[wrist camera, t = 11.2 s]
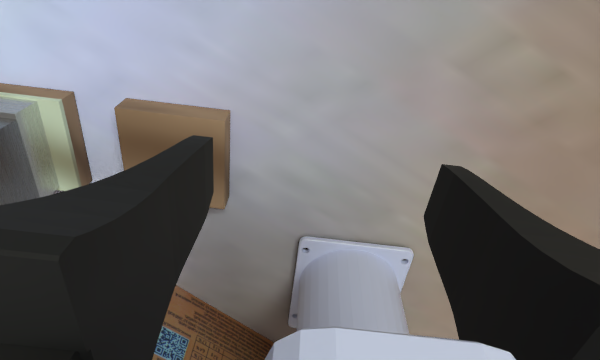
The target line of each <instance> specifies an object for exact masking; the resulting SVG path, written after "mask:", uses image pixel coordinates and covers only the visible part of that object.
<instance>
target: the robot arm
mask: <svg viewBox="0 0 600 360" xmlns="http://www.w3.org/2000/svg"><path fill="white" fill-rule="evenodd" d="M213 193H214V178H213V137H205V136H197V135H193V136H190V137H188V138H186V139H184V140H182V141H181V142H179V143H177V144H175V145H173V146H172V147H170V148H168V149H166V150H164V151H163V152H161V153H159V154H157V155H155V156H154V157H152V158H150V159H148V160H146V161H144V162H141V163H139V164H137V165H135V166H133V167H131V168H129V169H127V170H125V171H123V172H120V173H118V174H115V175H113V176H110V177H108V178H105V179H102V180H100V181H97V182H94V183H91V184H88V185H84V186H81V187H78V188H74V189H71V190H67V191H64V192H60V193H57V194H53V195H49V196H44V197H40V198H35V199H30V200H25V201H20V202H15V203H10V204H4V205H0V360H152V359H153V355H154V352H155V348H156V345H157V342H158V338H159V335H160V332H161V329H162V325H163V322H164V319H165V316H166V313H167V310H168V307H169V304H170V301H171V298H172V295H173V292H174V289H175V286H176V283H177V280H178V278H179V276H180V273H181V271H182V269H183V267H184V264H185V262H186V260H187V258H188V256H189V254H190V252H191V249H192V247H193V245H194V243H195V241H196V239H197V237H198V234H199V232H200V230H201V228H202V226H203V223H204V221H205V219H206V216H207V213H208V210H209V207H210V203H211V200H212V196H213ZM424 221H425V227H426V233H427V237H428V242H429V245H430V248H431V251H432V254H433V257H434V260H435V263H436V266H437V268H438V271H439V274H440V277H441V279H442V282H443V285H444V288H445V290H446V293H447V296H448V299H449V302H450V305H451V308H452V311H453V315H454V319H455V323H456V327H457V332H458V336H459V340H456V339H447V338H437V337H428V336H419V335H410V334H409V331H408V326H407V322H406V317H405V313H404V308H403V304H402V300H401V295H400V293H401V290H402V287H403V284H404V282H405V279H406V276H407V273H408V270H409V268H410V265H411V262H412V259H413V256H414V254H413V251H412V250H411V249H410V248H406V247H397V246H388V245H379V244H370V243H362V242H353V241H344V240H335V239H326V238H317V237H308V236H305V237H302V238H301V239H300V241H299V247H298V254H297V261H296V268H295V275H294V282H293V290H292V297H291V304H290V311H289V318H288V325H289V326H290V327H292V328H297V332H295V333H293V334H290V335H288V336H286V337H284V338H282V339H280V340H278V341H276V342H274V344H273V346H272V348H271V349H270V351H269V353H268V354H267V356H266V358H265V360H600V249H598V248H595V247H593V246H591V245H589V244H587V243H585V242H583V241H581V240H579V239H577V238H575V237H573V236H571V235H569V234H568V233H566V232H564V231H562V230H560V229H558V228H556V227H554V226H553V225H551V224H549V223H548V222H546V221H544V220H542V219H541V218H539V217H538V216H536V215H534V214H533V213H531V212H530V211H528V210H526V209H525V208H523V207H522V206H520V205H519V204H517V203H516V202H514V201H513V200H511V199H510V198H508V197H507V196H505V195H504V194H503V193H501V192H500V191H498V190H497V189H495V188H494V187H493V186H491V185H490V184H488V183H487V182H485V181H484V180H482V179H481V178H480V177H478V176H477V175H475V174H474V173H472V172H470V171H469V170H467V169H465V168H463V167H461V166H453V165H444V164H442V165H441V168H440V171H439V174H438V177H437V180H436V182H435V185H434V188H433V191H432V194H431V197H430V199H429V202H428V205H427V208H426V211H425V214H424ZM303 248H308V249H306V250H305V249H303ZM403 259H406V260H403Z"/></svg>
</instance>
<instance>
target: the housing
mask: <svg viewBox="0 0 600 360" xmlns="http://www.w3.org/2000/svg"><path fill="white" fill-rule="evenodd" d="M59 187H60V186H59V183H58V179H57V175H56V171H55V167H54V164H53V160H52V156H51V152H50V148H49V144H48V141H47V137H46V133H45V129H44V125H43V122H42V118H41V114H40V110H39V106H38V103H37V101H32V100H24V99H16V98H8V97H0V205H4V204H10V203H15V202H20V201H25V200H30V199H35V198H40V197H44V196H49V195H52V194H53V193H54V192H55V191H56V190H57V189H58V188H59Z"/></svg>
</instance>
